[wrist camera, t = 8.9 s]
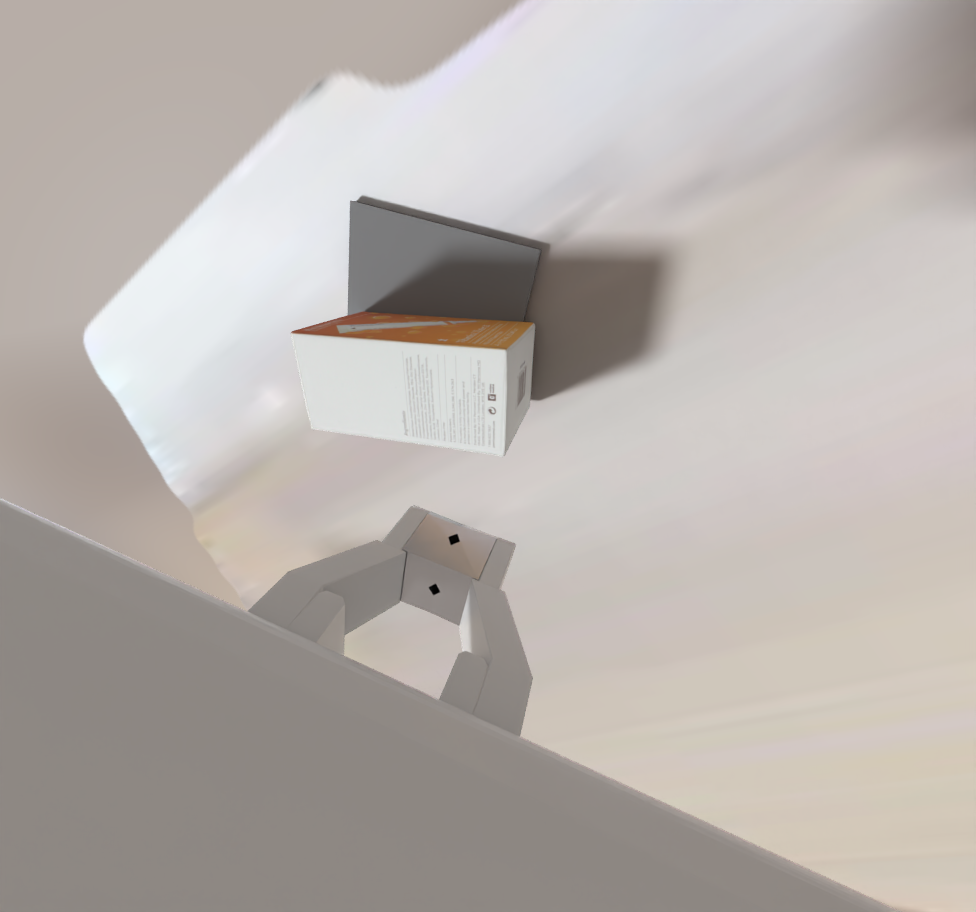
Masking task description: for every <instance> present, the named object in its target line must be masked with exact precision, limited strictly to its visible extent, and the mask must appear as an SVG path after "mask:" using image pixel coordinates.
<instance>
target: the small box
mask: <svg viewBox="0 0 976 912" xmlns="http://www.w3.org/2000/svg"><path fill="white" fill-rule="evenodd" d="M291 337H292V342H293V347H294V352H295V357H296V362H297V366H298V371H299V376H300V381H301V385H302V390H303V394H304V399H305V403H306V408H307V412H308V416H309V420H310V424H311V428H312V429H314V430H321V431H328V432H336V433H342V434H350V435H357V436H363V437H371V438H378V439H385V440H392V441H400V442H407V443H414V444H422V445H429V446H436V447H443V448H450V449H456V450H462V451H469V452H476V453H483V454H490V455H496V456H505V454H506V452H507V450H508V448H509V446H510V444H511V442H512V440H513V438H514V436H515V434H516V432H517V430H518V428H519V426H520V424H521V422H522V420H523V418H524V417H525V415H526V413H527V411H528V409H529V407H530V397H531V384H532V366H533V350H534V337H535V324H534V323H532V322H518V321H501V320H483V319H467V318H451V317H436V316H420V315H404V314H389V313H374V312H364V311H362V312H359V313H355V314H352V315H348V316H345V317H341V318H337V319H334V320H330V321H327V322H323V323H320V324H316V325H313V326H309V327H306V328H302V329H299V330H295V331H292V332H291Z"/></svg>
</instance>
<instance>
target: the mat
mask: <svg viewBox="0 0 976 912" xmlns="http://www.w3.org/2000/svg"><path fill="white" fill-rule="evenodd" d="M540 254H541V250H540V249H536V248H533V247H529V246H525V245H521V244H517V243H513V242H509V241H506V240H502V239H498V238H494V237H490V236H486V235H483V234H479V233H475V232H471V231H467V230H463V229H459V228H456V227H452V226H448V225H444V224H440V223H436V222H433V221H429V220H425V219H421V218H417V217H413V216H409V215H406V214H402V213H398V212H394V211H390V210H386V209H383V208H379V207H375V206H371V205H367V204H363V203H359V202H356V201H350V237H349V281H348V315H352V314H355V313H359V312H362V311H364V312H374V313H389V314H404V315H420V316H436V317H451V318H467V319H483V320H501V321H518V322H524V318H525V314H526V310H527V306H528V302H529V298H530V294H531V290H532V286H533V282H534V278H535V274H536V270H537V266H538V262H539V258H540Z"/></svg>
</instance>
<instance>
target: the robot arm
mask: <svg viewBox="0 0 976 912" xmlns="http://www.w3.org/2000/svg"><path fill="white" fill-rule="evenodd" d="M515 547H516V544H515V543H512V542H510V541H507V540H504V539H501V538H499V537H495V536H493V535H490V534H487V533H485V532H482V531H479V530H477V529H474V528H471V527H468V526H466V525H463V524H460V523H458V522H455V521H453V520H451V519H448V518H446V517H443V516H441V515H438V514H436V513H433V512H430V511H427V510H425V509H423V508H420V507H418V506H415V505H413V506H412V507H410V508H409V509H408V510H407V511H406V513H405V514H404V515H403V516H402V518H401V519H400V520H399V521H398V523H397V524H396V525H395V526H394V527H393V529H392V530H391V531H390V532H389V534H388V535H387V536H386V537H385V538H384V540H383V541H382V542H380V541H378V540H376V541H373V542H370V543H367V544H364V545H362V546H359V547H356V548H353V549H350V550H348V551H345V552H342V553H339V554H336V555H333V556H331V557H328V558H325V559H322V560H319V561H317V562H314V563H311V564H308V565H305V566H303V567H300V568H297V569H294V570H291V571H289V572H287V573H286V574H285V575H284V576H283V577H282V578H281V579H280V580H279V581H278V582H277V583H276V584H275V585H274V586H273V587H272V588H271V589H270V590H269V591H268V592H267V593H266V594H265V595H264V596H263V597H262V598H261V599H260V600H259V601H258V602H257V603H256V604H255V605H254V606H253V607H252V608H251V609H249V610H248V611H245V610H243V609H241V608H239V607H237V606H234V605H232V604H230V603H228V602H226V601H223V600H221V599H219V598H217V597H215V596H213V595H210V594H208V593H206V592H204V591H202V590H200V589H197V588H195V587H193V586H191V585H188V584H186V583H184V582H182V581H180V580H178V579H175V578H173V577H171V576H169V575H167V574H165V573H163V572H160V571H158V570H156V569H154V568H151V567H149V566H147V565H145V564H143V563H141V562H138V561H136V560H134V559H132V558H130V557H128V556H125V555H123V554H121V553H119V552H117V551H114V550H112V549H110V548H108V547H106V546H104V545H102V544H99V543H97V542H95V541H93V540H90V539H89V538H86V537H84V536H82V535H80V534H78V533H75V532H73V531H71V530H69V529H67V528H65V527H63V526H60V525H58V524H56V523H54V522H52V521H49V520H47V519H45V518H43V517H41V516H39V515H36V514H34V513H32V512H30V511H28V510H26V509H23V508H21V507H19V506H17V505H15V504H13V503H10V502H8V501H6V500H4V499H2V498H0V912H901V911H899V910H897V909H895V908H893V907H890V906H888V905H886V904H884V903H882V902H879V901H877V900H875V899H873V898H871V897H869V896H866V895H864V894H862V893H860V892H858V891H855V890H853V889H851V888H849V887H847V886H845V885H842V884H840V883H838V882H836V881H834V880H831V879H829V878H827V877H825V876H823V875H821V874H818V873H816V872H814V871H812V870H810V869H807V868H805V867H803V866H801V865H799V864H797V863H794V862H792V861H790V860H788V859H786V858H784V857H781V856H779V855H777V854H775V853H773V852H770V851H768V850H766V849H764V848H762V847H760V846H757V845H755V844H753V843H751V842H749V841H746V840H744V839H742V838H740V837H738V836H736V835H733V834H731V833H729V832H727V831H725V830H723V829H720V828H718V827H716V826H714V825H712V824H709V823H707V822H705V821H703V820H701V819H699V818H696V817H694V816H692V815H690V814H688V813H685V812H683V811H681V810H679V809H677V808H675V807H672V806H670V805H668V804H666V803H664V802H662V801H659V800H657V799H655V798H653V797H651V796H648V795H646V794H644V793H642V792H640V791H638V790H635V789H633V788H631V787H629V786H627V785H624V784H622V783H620V782H618V781H616V780H614V779H611V778H609V777H607V776H605V775H603V774H601V773H598V772H596V771H594V770H592V769H590V768H587V767H585V766H583V765H581V764H579V763H577V762H574V761H572V760H570V759H568V758H566V757H564V756H561V755H559V754H557V753H555V752H553V751H550V750H548V749H546V748H544V747H542V746H540V745H537V744H535V743H533V742H531V741H529V740H526V739H524V738H522V737H520V734H521V729H522V725H523V720H524V716H525V711H526V707H527V702H528V698H529V693H530V689H531V684H532V680H533V678H532V674H531V671H530V668H529V665H528V662H527V659H526V656H525V653H524V650H523V646H522V643H521V640H520V637H519V634H518V631H517V628H516V625H515V622H514V618H513V615H512V612H511V609H510V606H509V603H508V600H507V597H506V594H505V592H504V591H502V590H501V588H502V585H503V582H504V579H505V576H506V573H507V570H508V567H509V564H510V561H511V558H512V555H513V553H514V550H515ZM400 601H402V602H405V603H407V604H410V605H413V606H415V607H418V608H420V609H423V610H425V611H428V612H430V613H433V614H435V615H437V616H439V617H441V618H444V619H446V620H448V621H450V622H452V623H454V624H457V625H459V630H460V638H461V645H462V653H459V654H458V657H457V659H456V661H455V664H454V666H453V668H452V671H451V673H450V675H449V678H448V680H447V682H446V685H445V687H444V689H443V692H442V694H441V696H440V698H439V699H437V698H435V697H433V696H431V695H428V694H426V693H424V692H422V691H420V690H417V689H415V688H413V687H411V686H409V685H407V684H404V683H402V682H400V681H398V680H396V679H393V678H391V677H389V676H387V675H385V674H383V673H380V672H378V671H376V670H374V669H372V668H369V667H367V666H365V665H363V664H361V663H359V662H356V661H354V660H352V659H350V658H348V657H345V656H344V635H346V634H348V633H349V632H351V631H353V630H354V629H356V628H358V627H359V626H361V625H363V624H364V623H366V622H368V621H369V620H371V619H373V618H374V617H376V616H378V615H379V614H381V613H383V612H385V611H386V610H388V609H390V608H391V607H393V606H395V605H396V604H398V603H400Z"/></svg>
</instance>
